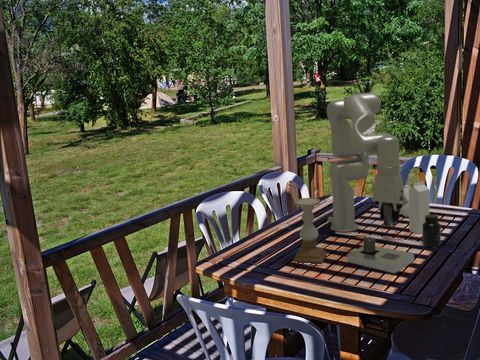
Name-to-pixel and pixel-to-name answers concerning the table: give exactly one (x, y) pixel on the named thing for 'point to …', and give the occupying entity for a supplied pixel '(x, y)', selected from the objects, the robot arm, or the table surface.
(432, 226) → the supplement bottle
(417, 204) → the milk
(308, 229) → the candle holder
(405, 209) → the sauce bottle
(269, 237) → the table surface
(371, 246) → the jig
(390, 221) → the dark grey cylinder
